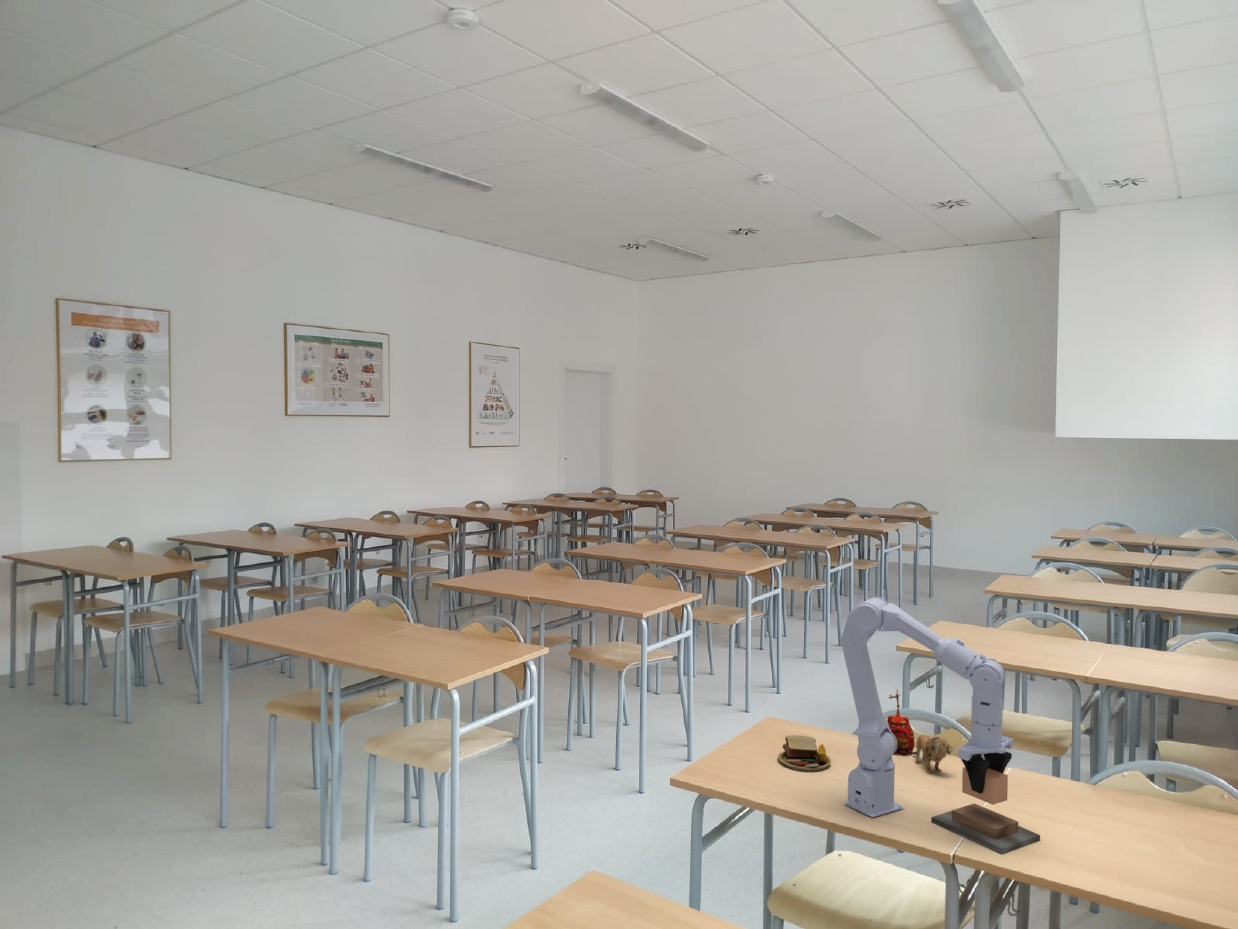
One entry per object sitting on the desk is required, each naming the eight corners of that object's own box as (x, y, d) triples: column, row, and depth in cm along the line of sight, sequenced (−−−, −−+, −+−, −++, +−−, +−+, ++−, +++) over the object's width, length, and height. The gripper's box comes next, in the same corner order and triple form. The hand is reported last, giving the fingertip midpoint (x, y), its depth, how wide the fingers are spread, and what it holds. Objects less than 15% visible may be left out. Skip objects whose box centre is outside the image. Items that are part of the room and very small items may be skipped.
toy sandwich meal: (777, 770, 201) (777, 750, 201) (779, 751, 215) (779, 732, 214) (831, 775, 199) (831, 755, 199) (829, 755, 212) (830, 736, 212)
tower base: (1001, 854, 160) (1001, 838, 160) (931, 822, 174) (931, 807, 174) (1040, 840, 166) (1040, 825, 166) (969, 810, 180) (969, 795, 180)
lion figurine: (955, 777, 198) (956, 739, 198) (934, 779, 197) (935, 740, 197) (922, 755, 212) (922, 719, 212) (902, 756, 211) (903, 720, 211)
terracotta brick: (992, 805, 166) (993, 779, 166) (962, 792, 172) (962, 767, 172) (1007, 800, 168) (1007, 775, 168) (976, 788, 174) (976, 763, 174)
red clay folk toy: (883, 754, 212) (884, 695, 212) (881, 745, 219) (882, 687, 219) (915, 757, 211) (916, 697, 210) (912, 748, 218) (913, 689, 217)
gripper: (981, 733, 162) (979, 803, 163) (1027, 721, 170) (1025, 789, 170) (949, 722, 168) (948, 790, 169) (995, 712, 176) (994, 777, 176)
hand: (985, 789), depth 170 cm, fingers closed on terracotta brick, 4 cm apart
